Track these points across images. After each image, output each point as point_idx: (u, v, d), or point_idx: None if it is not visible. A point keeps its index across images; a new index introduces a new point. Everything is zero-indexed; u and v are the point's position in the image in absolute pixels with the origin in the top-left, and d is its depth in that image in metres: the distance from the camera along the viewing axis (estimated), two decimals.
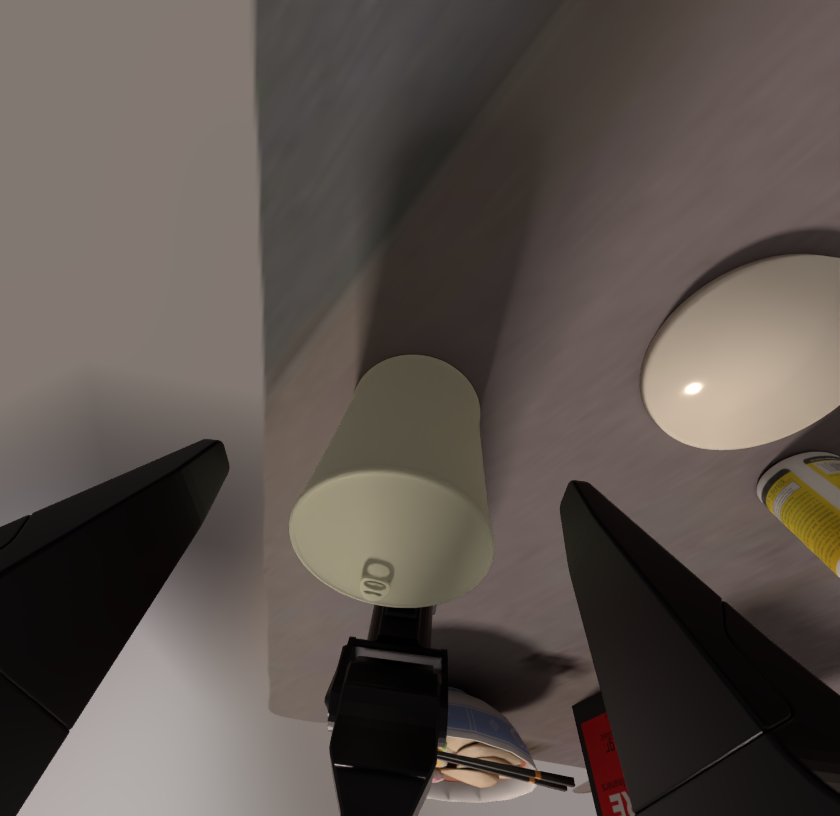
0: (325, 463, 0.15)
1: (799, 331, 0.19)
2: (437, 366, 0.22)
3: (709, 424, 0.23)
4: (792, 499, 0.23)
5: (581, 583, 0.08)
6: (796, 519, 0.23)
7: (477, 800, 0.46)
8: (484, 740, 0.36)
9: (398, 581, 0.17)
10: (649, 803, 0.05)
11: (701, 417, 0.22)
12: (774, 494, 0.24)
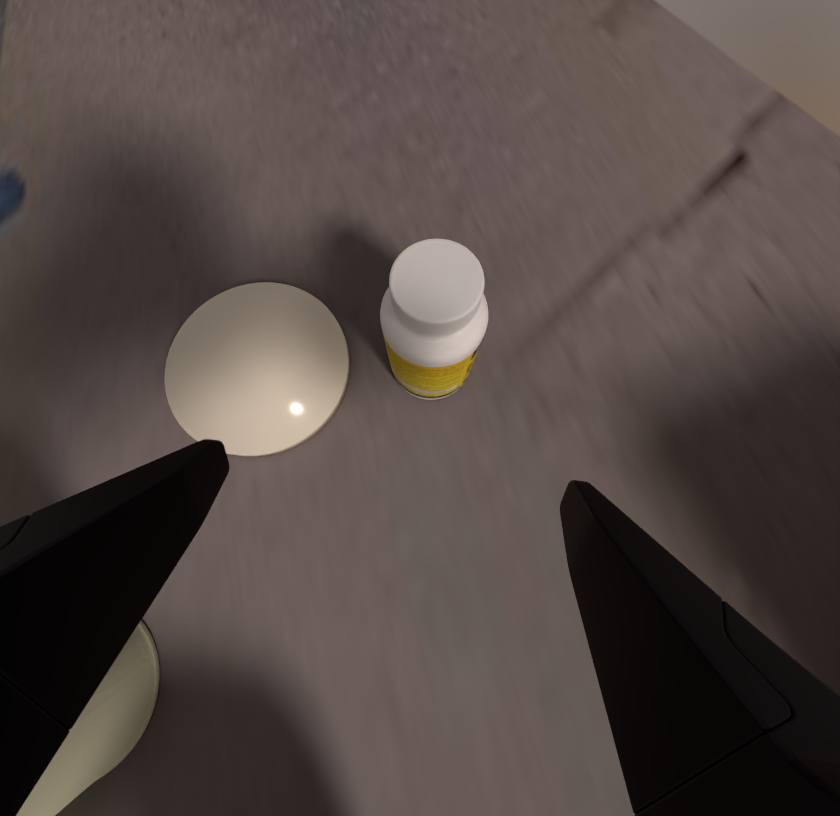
0: None
1: (243, 333, 0.24)
2: None
3: (289, 414, 0.22)
4: (398, 375, 0.21)
5: (581, 583, 0.08)
6: (410, 380, 0.20)
7: None
8: None
9: None
10: (649, 803, 0.05)
11: (276, 417, 0.22)
12: (407, 387, 0.22)
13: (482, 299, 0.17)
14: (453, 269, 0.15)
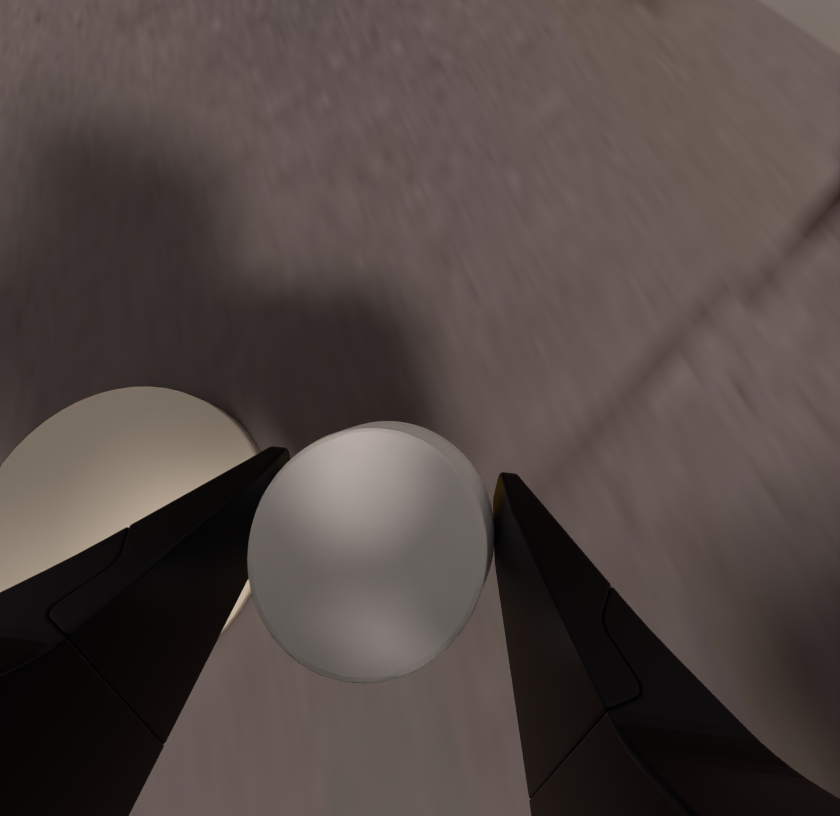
0: None
1: (100, 474, 0.15)
2: None
3: None
4: None
5: (501, 573, 0.08)
6: None
7: None
8: None
9: None
10: (538, 787, 0.06)
11: None
12: None
13: (482, 510, 0.08)
14: (410, 515, 0.06)
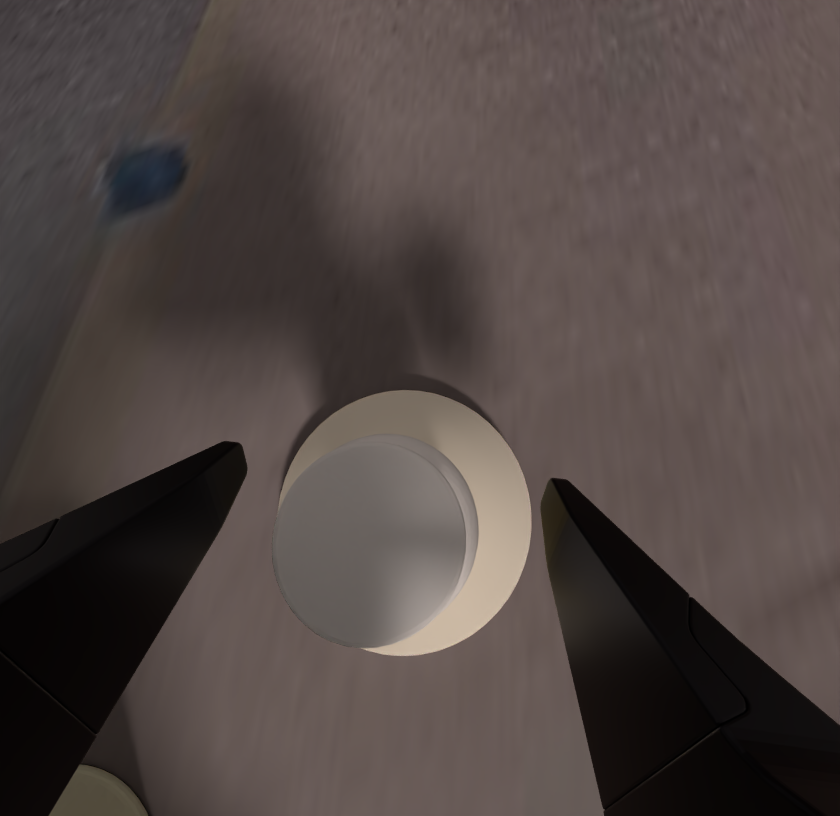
0: None
1: None
2: None
3: None
4: None
5: (558, 580, 0.08)
6: None
7: None
8: None
9: None
10: (616, 798, 0.06)
11: None
12: None
13: (467, 512, 0.09)
14: (403, 515, 0.07)
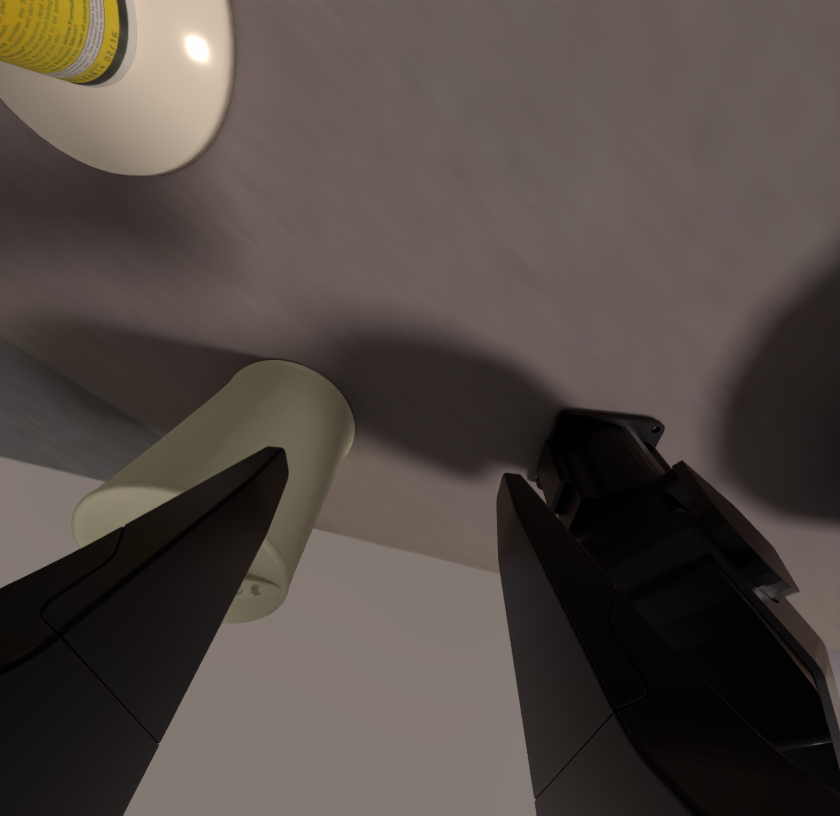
0: None
1: None
2: None
3: (178, 32, 0.14)
4: (51, 69, 0.13)
5: (505, 573, 0.08)
6: (45, 48, 0.12)
7: None
8: None
9: None
10: (543, 787, 0.06)
11: (171, 55, 0.14)
12: (90, 72, 0.14)
13: None
14: None
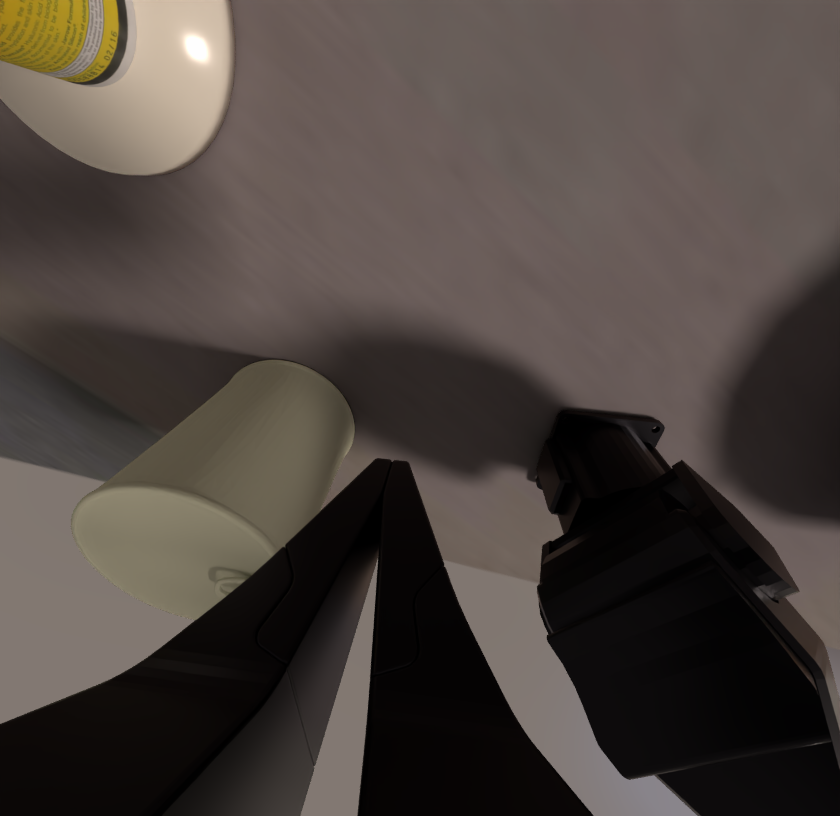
0: None
1: None
2: None
3: (177, 31, 0.14)
4: (50, 68, 0.13)
5: None
6: (44, 47, 0.12)
7: None
8: None
9: (235, 565, 0.15)
10: None
11: (171, 54, 0.14)
12: (89, 71, 0.14)
13: None
14: None
